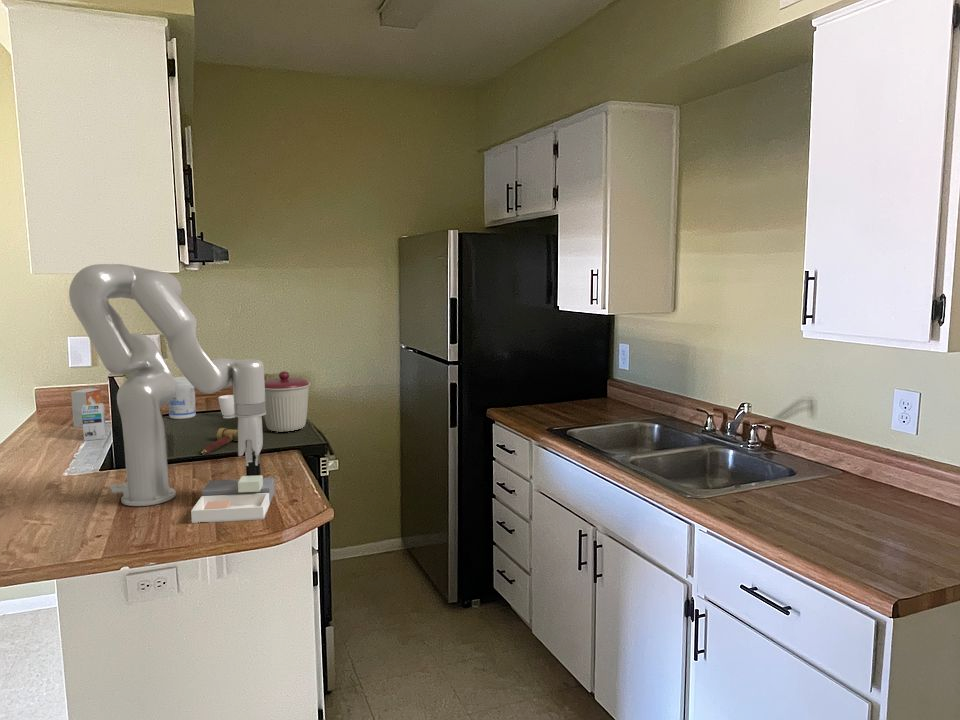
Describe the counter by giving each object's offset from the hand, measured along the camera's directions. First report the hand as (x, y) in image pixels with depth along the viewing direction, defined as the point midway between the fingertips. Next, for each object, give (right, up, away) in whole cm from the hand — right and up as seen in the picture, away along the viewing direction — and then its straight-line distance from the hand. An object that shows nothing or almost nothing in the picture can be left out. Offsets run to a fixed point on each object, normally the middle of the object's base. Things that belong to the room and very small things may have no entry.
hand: (253, 479), depth 182 cm
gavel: (-27, +1, +51) cm, 58 cm away
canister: (-12, +5, +75) cm, 76 cm away
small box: (-87, +6, +84) cm, 121 cm away
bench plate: (-4, -5, 0) cm, 6 cm away
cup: (-38, +8, +95) cm, 103 cm away
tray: (-2, -6, -10) cm, 12 cm away
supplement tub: (-58, +8, +96) cm, 113 cm away
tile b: (+1, -1, -4) cm, 4 cm away
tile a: (-5, -4, -13) cm, 14 cm away
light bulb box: (-75, +4, +66) cm, 100 cm away
